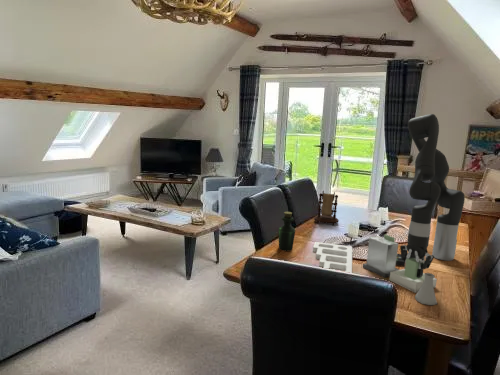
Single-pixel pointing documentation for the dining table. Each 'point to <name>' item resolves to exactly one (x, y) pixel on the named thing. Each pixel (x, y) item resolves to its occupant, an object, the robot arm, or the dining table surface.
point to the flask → (427, 291)
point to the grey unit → (382, 255)
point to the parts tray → (408, 280)
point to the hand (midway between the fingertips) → (413, 274)
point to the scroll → (327, 209)
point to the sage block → (411, 268)
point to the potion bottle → (286, 233)
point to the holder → (334, 256)
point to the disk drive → (400, 260)
